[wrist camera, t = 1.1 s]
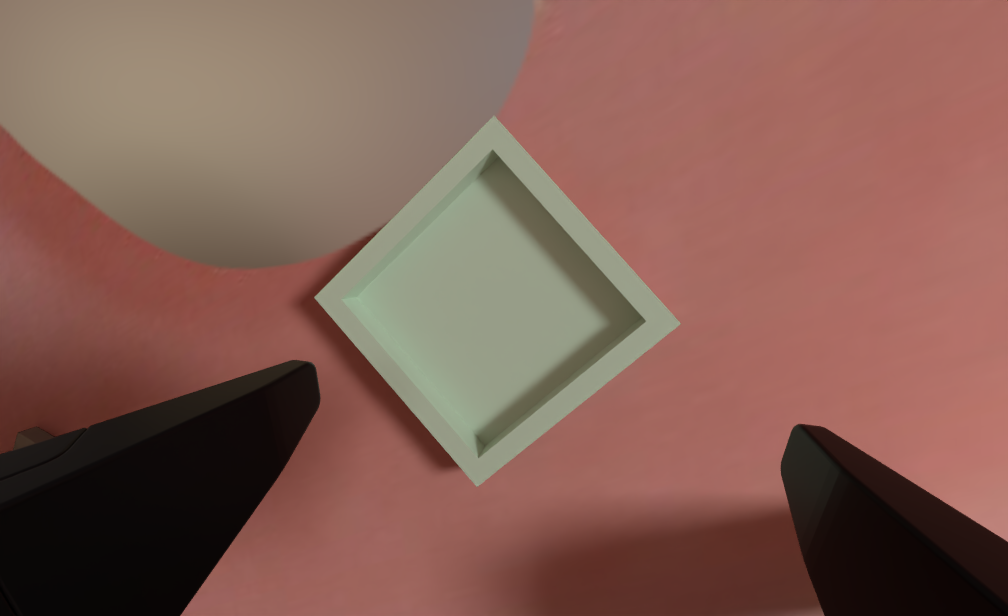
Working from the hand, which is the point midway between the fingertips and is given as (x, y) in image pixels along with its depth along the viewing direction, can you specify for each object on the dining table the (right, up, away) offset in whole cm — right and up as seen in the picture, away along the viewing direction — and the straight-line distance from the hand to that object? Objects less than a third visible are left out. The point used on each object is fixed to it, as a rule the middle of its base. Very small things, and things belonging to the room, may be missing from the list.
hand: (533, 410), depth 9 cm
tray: (-1, +2, +15) cm, 15 cm away
